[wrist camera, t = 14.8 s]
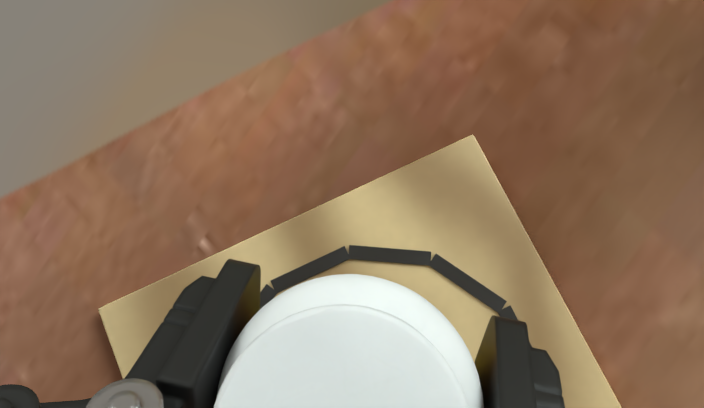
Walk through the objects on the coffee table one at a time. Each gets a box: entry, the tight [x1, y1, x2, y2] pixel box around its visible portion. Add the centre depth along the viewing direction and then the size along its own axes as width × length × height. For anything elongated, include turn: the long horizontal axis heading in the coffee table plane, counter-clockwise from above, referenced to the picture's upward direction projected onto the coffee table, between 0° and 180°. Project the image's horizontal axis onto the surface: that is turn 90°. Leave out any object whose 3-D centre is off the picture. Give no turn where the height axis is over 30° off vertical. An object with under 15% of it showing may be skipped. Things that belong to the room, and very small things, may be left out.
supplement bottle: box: [214, 274, 484, 408], centre depth 13 cm, size 5×5×10 cm
